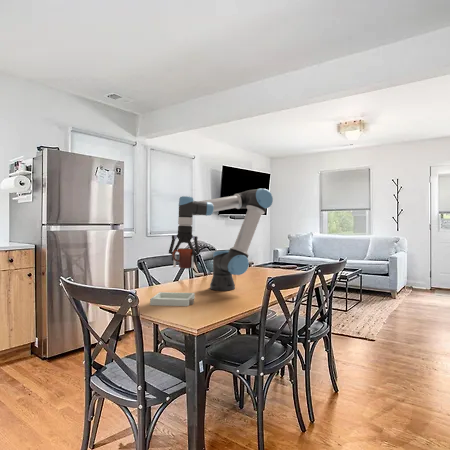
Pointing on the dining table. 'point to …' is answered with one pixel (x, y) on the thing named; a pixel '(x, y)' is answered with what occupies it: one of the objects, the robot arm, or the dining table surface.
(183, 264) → the mug
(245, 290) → the dining table surface
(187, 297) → the grey-green tray
